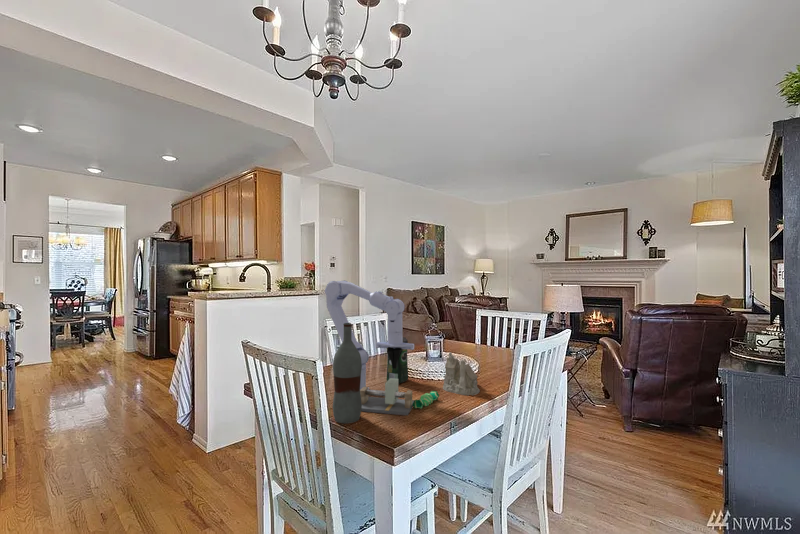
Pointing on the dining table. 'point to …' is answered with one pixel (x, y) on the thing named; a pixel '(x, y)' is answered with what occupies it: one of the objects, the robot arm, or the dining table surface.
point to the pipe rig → (379, 403)
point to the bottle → (347, 380)
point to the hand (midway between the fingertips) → (394, 368)
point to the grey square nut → (391, 391)
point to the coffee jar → (398, 367)
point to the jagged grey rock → (460, 377)
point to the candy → (426, 399)
